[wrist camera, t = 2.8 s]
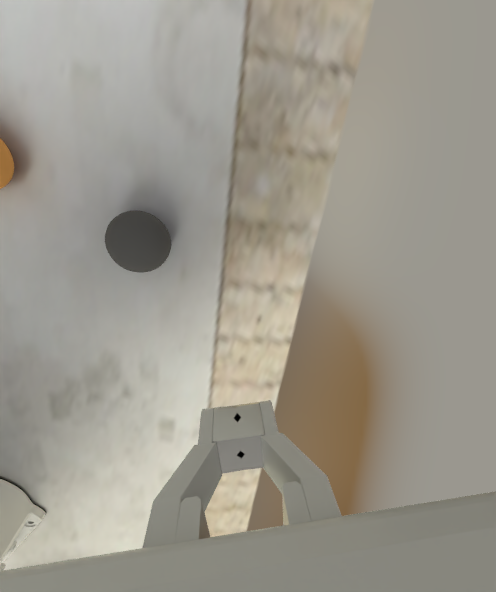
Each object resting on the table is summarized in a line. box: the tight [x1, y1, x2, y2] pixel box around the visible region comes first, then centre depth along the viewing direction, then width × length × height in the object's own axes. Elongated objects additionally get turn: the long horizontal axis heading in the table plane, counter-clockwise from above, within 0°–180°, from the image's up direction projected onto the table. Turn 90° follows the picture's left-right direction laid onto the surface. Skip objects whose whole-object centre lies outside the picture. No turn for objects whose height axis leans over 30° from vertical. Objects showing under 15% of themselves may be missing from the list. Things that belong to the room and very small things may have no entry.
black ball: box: [105, 211, 171, 272], centre depth 23 cm, size 6×6×6 cm
